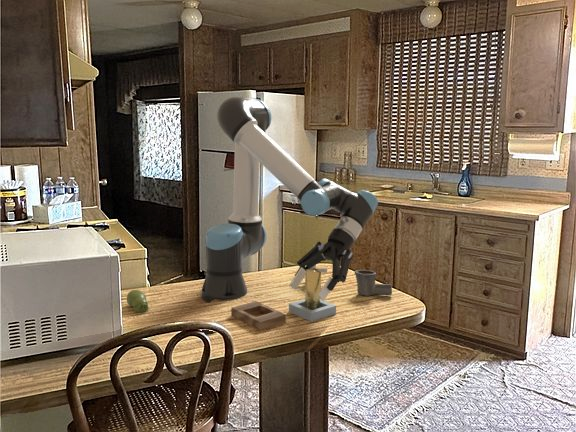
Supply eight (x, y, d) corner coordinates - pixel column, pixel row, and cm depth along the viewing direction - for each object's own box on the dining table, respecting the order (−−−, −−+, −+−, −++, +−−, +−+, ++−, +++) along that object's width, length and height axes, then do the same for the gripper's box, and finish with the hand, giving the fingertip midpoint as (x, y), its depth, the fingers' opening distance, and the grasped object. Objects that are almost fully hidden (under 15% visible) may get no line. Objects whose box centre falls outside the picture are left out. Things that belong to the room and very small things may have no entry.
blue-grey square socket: (288, 316, 162) (288, 303, 162) (313, 308, 169) (313, 296, 168) (311, 326, 155) (311, 313, 154) (335, 318, 161) (336, 305, 160)
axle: (302, 313, 160) (303, 271, 158) (308, 308, 164) (309, 267, 162) (316, 316, 159) (317, 273, 156) (322, 311, 163) (323, 269, 160)
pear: (141, 285, 171) (152, 299, 163) (141, 300, 173) (152, 315, 165) (124, 288, 168) (134, 303, 160) (123, 303, 170) (134, 318, 162)
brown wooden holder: (231, 320, 158) (231, 307, 158) (255, 313, 164) (255, 301, 163) (260, 335, 148) (260, 322, 147) (285, 327, 154) (285, 314, 153)
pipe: (391, 299, 179) (392, 276, 177) (352, 296, 181) (353, 273, 180) (391, 293, 184) (392, 271, 183) (354, 290, 187) (355, 268, 185)
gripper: (311, 220, 172) (273, 275, 165) (368, 234, 154) (328, 296, 147) (323, 234, 176) (286, 289, 170) (379, 249, 159) (341, 310, 152)
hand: (306, 292), depth 158 cm, fingers open, 11 cm apart
